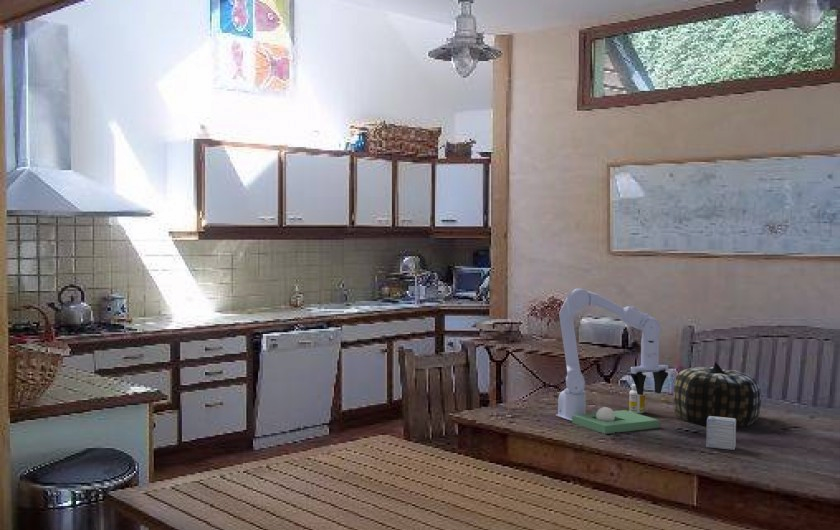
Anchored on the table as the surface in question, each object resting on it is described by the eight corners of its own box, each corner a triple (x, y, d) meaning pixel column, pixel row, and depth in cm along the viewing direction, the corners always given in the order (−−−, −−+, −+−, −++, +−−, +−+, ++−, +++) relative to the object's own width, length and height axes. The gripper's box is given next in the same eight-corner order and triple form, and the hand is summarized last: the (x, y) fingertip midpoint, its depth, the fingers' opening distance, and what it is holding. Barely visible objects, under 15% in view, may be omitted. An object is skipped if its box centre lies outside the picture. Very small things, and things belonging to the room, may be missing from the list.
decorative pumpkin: (779, 421, 288) (780, 363, 288) (725, 432, 272) (727, 369, 271) (705, 406, 313) (707, 352, 312) (652, 415, 296) (653, 358, 296)
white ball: (603, 402, 281) (611, 417, 282) (589, 412, 279) (597, 427, 280) (613, 405, 275) (621, 420, 276) (599, 415, 274) (607, 430, 275)
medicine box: (735, 447, 252) (736, 418, 252) (734, 450, 248) (735, 421, 248) (707, 444, 255) (708, 415, 255) (706, 447, 251) (706, 418, 251)
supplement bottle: (643, 410, 304) (643, 383, 303) (645, 413, 298) (646, 386, 298) (628, 410, 304) (628, 383, 304) (630, 413, 299) (630, 385, 299)
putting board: (572, 422, 282) (572, 415, 282) (624, 417, 292) (624, 410, 292) (604, 433, 267) (605, 425, 267) (659, 427, 277) (659, 420, 277)
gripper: (641, 356, 278) (640, 397, 279) (674, 353, 285) (674, 394, 285) (626, 353, 284) (625, 393, 285) (660, 351, 291) (659, 390, 291)
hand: (649, 393), depth 285 cm, fingers open, 7 cm apart
